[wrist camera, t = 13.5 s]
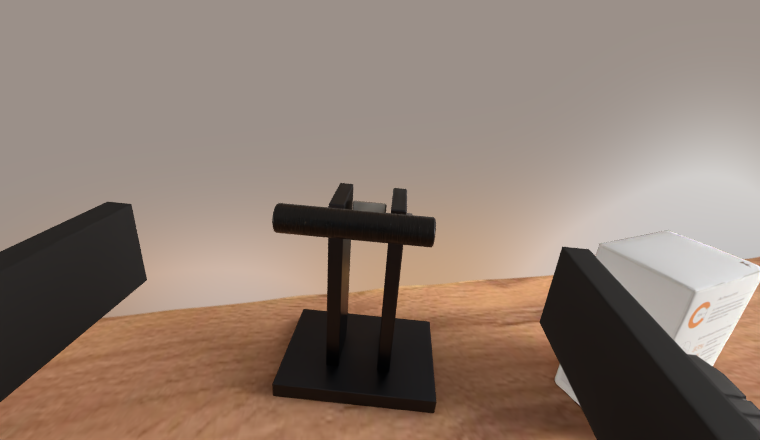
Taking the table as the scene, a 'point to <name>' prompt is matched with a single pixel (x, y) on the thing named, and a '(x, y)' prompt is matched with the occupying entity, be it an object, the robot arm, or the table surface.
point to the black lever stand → (360, 340)
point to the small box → (681, 289)
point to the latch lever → (355, 223)
